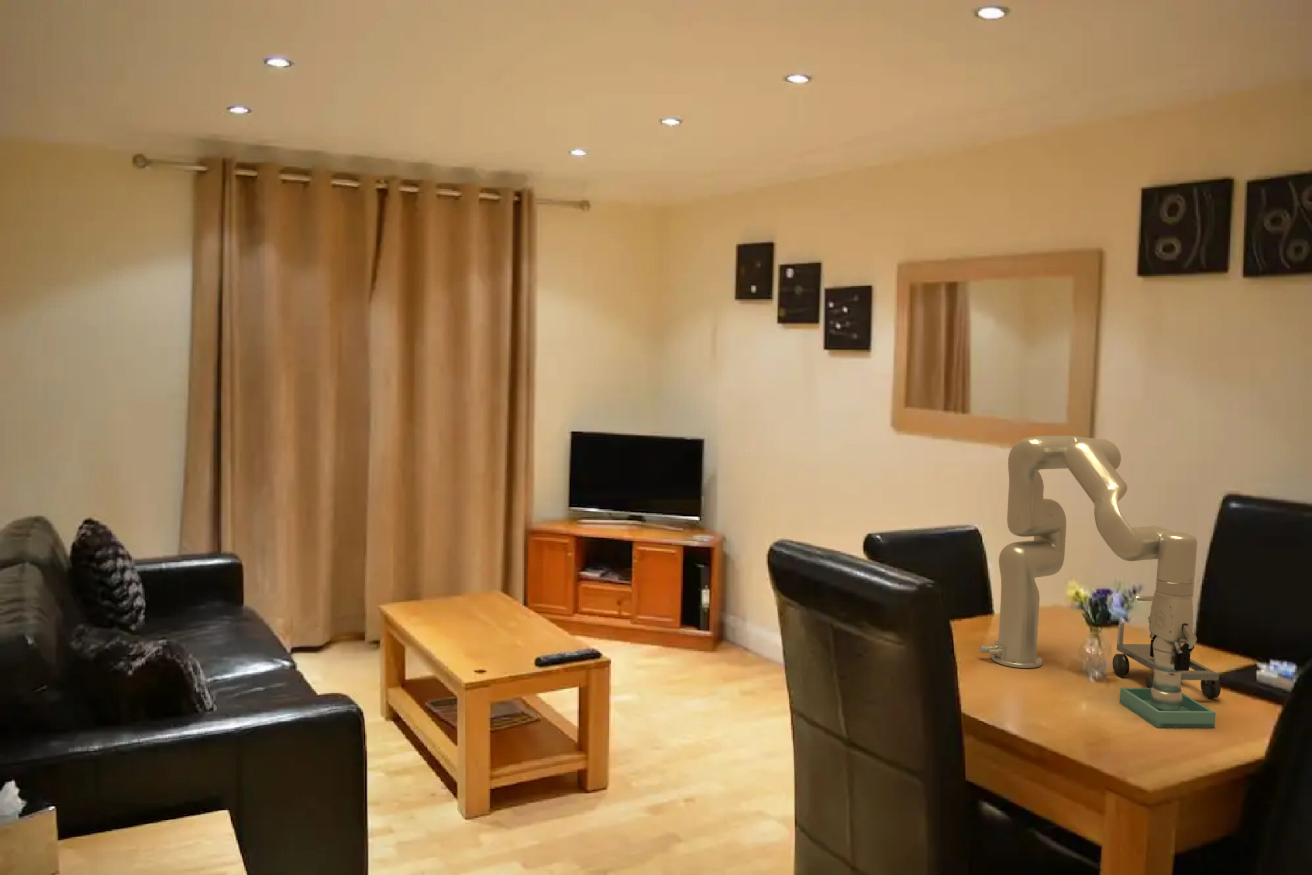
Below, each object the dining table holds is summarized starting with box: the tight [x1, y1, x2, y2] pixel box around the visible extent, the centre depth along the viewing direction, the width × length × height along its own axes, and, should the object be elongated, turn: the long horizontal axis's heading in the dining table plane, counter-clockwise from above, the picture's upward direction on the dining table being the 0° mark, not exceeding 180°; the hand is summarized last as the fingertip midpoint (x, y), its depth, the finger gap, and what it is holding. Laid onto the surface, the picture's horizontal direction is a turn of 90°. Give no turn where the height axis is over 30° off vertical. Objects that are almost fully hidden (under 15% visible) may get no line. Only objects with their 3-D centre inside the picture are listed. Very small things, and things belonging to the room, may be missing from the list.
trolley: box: [1112, 595, 1222, 699], centre depth 251 cm, size 15×24×20 cm, turn 4°
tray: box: [1118, 687, 1217, 729], centre depth 231 cm, size 13×16×4 cm
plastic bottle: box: [1150, 636, 1184, 711], centre depth 231 cm, size 6×7×20 cm
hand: (1169, 663), depth 230 cm, fingers open, 9 cm apart
